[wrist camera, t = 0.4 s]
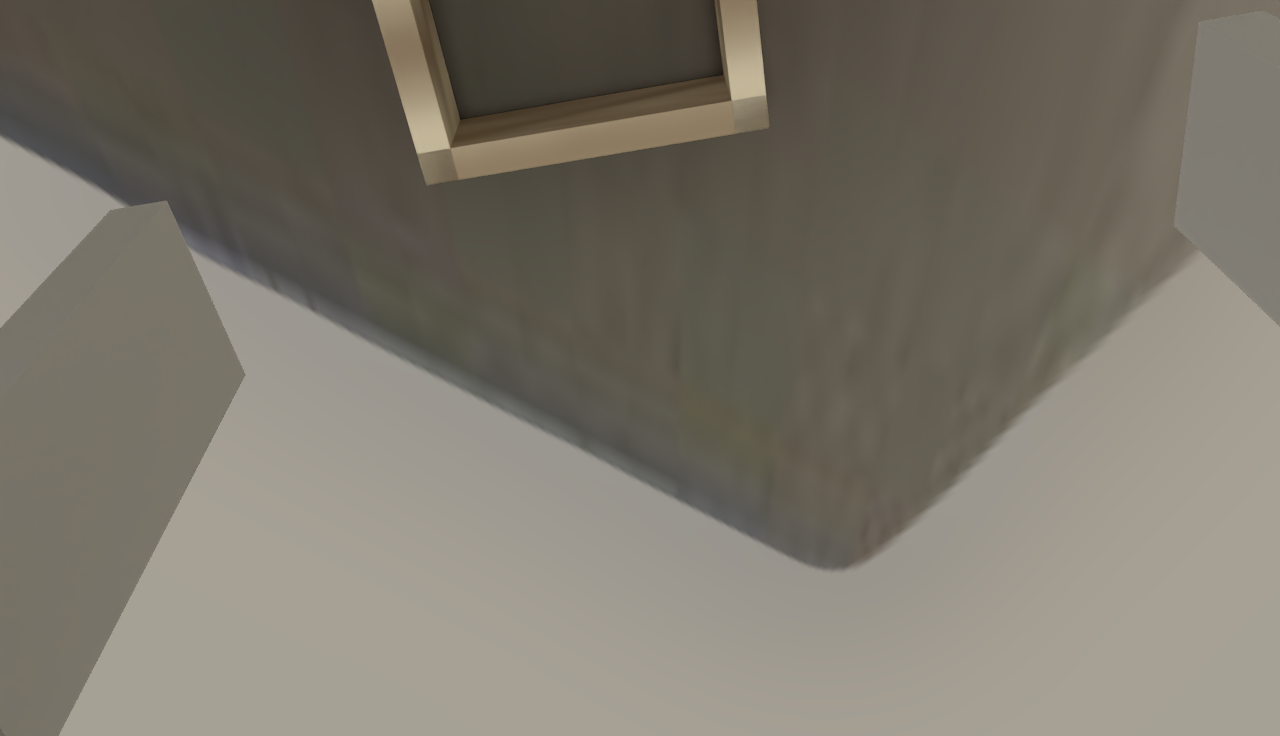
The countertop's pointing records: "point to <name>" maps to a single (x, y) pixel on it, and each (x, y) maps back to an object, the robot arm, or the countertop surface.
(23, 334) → the robot arm
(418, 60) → the maple pocket
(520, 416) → the countertop surface
